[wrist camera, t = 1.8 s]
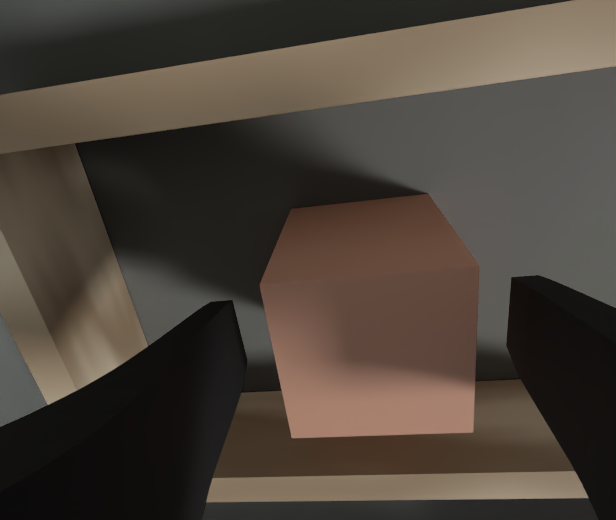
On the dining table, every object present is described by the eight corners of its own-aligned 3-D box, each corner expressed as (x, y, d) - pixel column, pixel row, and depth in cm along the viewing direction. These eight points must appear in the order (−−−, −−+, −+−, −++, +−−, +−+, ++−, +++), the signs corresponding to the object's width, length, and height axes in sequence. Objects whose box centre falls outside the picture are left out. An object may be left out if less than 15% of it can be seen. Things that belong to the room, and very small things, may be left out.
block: (430, 312, 15) (473, 432, 10) (309, 321, 15) (291, 438, 10) (427, 193, 13) (479, 266, 8) (291, 208, 14) (259, 284, 9)
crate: (583, 400, 16) (655, 497, 12) (148, 417, 18) (99, 503, 14) (654, 0, 10) (821, -41, 7) (23, 102, 13) (-105, 111, 9)
